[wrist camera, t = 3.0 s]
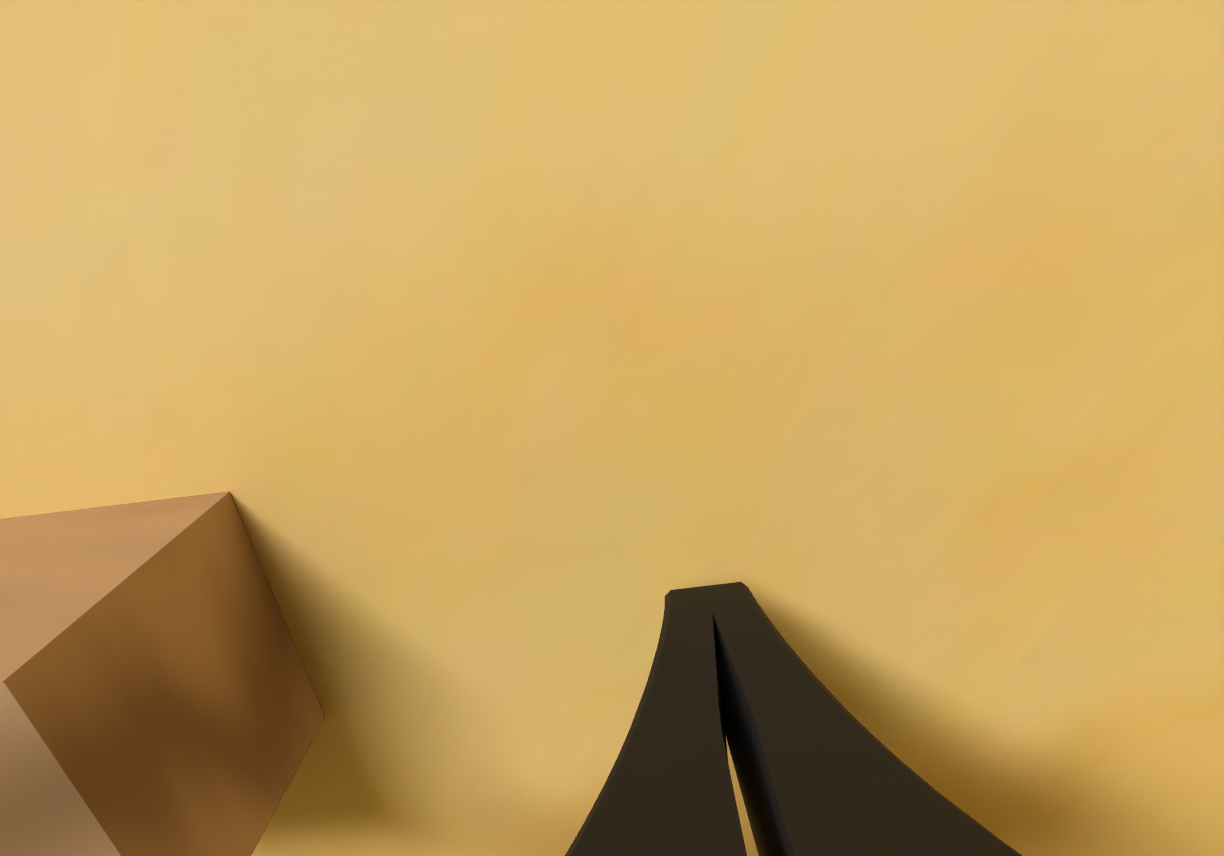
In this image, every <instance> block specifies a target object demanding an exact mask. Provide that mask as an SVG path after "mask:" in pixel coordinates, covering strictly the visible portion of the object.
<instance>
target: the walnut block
mask: <svg viewBox="0 0 1224 856" xmlns="http://www.w3.org/2000/svg"><path fill="white" fill-rule="evenodd" d="M324 718H325V715H324V713H323V710H322V708H321V706H320V703H319V701H318V699H317V696H316V694H315V692H314V689H313V687H312V685H311V682H310V680H309V678H308V675H307V673H306V670H305V668H304V666H303V663H302V661H301V659H300V656H299V654H298V652H297V649H296V647H295V645H294V642H293V640H292V637H291V635H290V633H289V630H288V628H287V626H286V623H285V621H284V619H283V616H282V614H281V612H280V609H279V607H278V604H277V602H276V600H275V597H274V595H273V593H272V590H271V588H270V586H269V583H268V581H267V579H266V576H265V574H264V571H263V569H262V567H261V564H260V562H259V560H258V557H257V555H256V553H255V550H254V548H253V546H252V543H251V541H250V538H249V536H248V534H247V531H246V529H245V527H244V524H243V522H242V520H241V517H240V515H239V513H238V510H237V508H236V505H235V503H234V501H233V498H232V496H231V494H230V492H222V493H214V494H205V495H197V496H189V497H180V498H172V499H164V500H155V501H147V502H139V503H130V504H122V505H114V506H106V507H97V508H89V509H81V510H72V511H64V512H56V513H47V514H39V515H31V516H22V517H14V518H6V519H0V856H251V855H252V853H253V851H254V849H255V847H256V845H257V844H258V842H259V840H260V838H261V836H262V834H263V832H264V830H265V829H266V827H267V825H268V823H269V821H270V819H271V817H272V815H273V813H274V812H275V810H276V808H277V806H278V804H279V802H280V800H281V798H282V797H283V795H284V793H285V791H286V789H287V787H288V785H289V783H290V782H291V780H292V778H293V776H294V774H295V772H296V770H297V768H298V766H299V765H300V763H301V761H302V759H303V757H304V755H305V753H306V751H307V750H308V748H309V746H310V744H311V742H312V740H313V738H314V736H315V735H316V733H317V731H318V729H319V727H320V725H321V723H322V721H323V719H324Z"/></svg>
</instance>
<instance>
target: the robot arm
mask: <svg viewBox="0 0 1224 856" xmlns="http://www.w3.org/2000/svg"><path fill="white" fill-rule="evenodd" d="M726 738H727V741H728V745H729V749H730V752H731V756H732V760H733V763H734V767H735V771H736V774H737V778H738V782H739V785H740V789H741V793H742V796H743V800H744V803H745V807H746V811H747V814H748V818H749V822H750V825H751V829H752V833H753V836H754V840H755V843H756V847H757V851H758V854H759V856H1022V855H1021V854H1019V853H1018V852H1016V851H1015V850H1014V849H1012V848H1011V847H1009V846H1008V845H1006V844H1005V843H1004V842H1002V841H1001V840H1000V839H999V838H997V837H996V836H995V835H993V834H992V833H991V832H989V831H988V830H987V829H986V828H984V827H983V826H982V825H980V824H979V823H978V822H976V821H975V820H974V819H973V818H971V817H970V816H969V815H967V814H966V813H965V812H963V811H962V810H961V809H959V808H958V807H957V806H956V805H954V804H953V803H952V802H950V801H949V800H948V799H946V798H945V797H944V796H943V795H941V794H940V793H939V792H937V791H936V790H935V789H934V788H932V787H931V786H930V785H929V784H928V783H926V782H925V781H924V780H923V779H922V778H921V777H919V776H918V775H917V774H916V773H915V772H914V771H912V770H911V769H910V768H909V767H908V766H907V765H905V764H904V763H903V762H902V761H901V760H899V759H898V758H897V757H896V756H895V755H894V754H893V753H892V752H891V751H890V750H888V749H887V748H886V747H885V746H884V745H883V744H882V743H881V742H880V741H879V740H877V739H876V738H875V737H874V736H873V735H872V734H871V733H870V732H869V731H868V730H867V729H866V728H865V727H864V726H863V725H862V724H861V723H860V722H859V721H858V720H857V719H856V718H855V717H854V716H853V715H852V714H850V713H849V712H848V711H847V709H846V708H845V707H844V706H843V705H842V704H841V703H840V702H839V701H838V700H837V699H836V698H835V697H834V696H833V695H832V694H831V693H830V692H829V691H828V690H827V689H826V687H825V686H824V685H823V684H822V683H821V682H820V681H819V680H818V679H817V678H816V676H815V675H814V674H813V673H812V672H811V671H810V670H809V668H808V667H807V666H806V665H805V664H804V663H803V661H802V660H801V659H800V658H799V657H798V655H797V654H796V653H795V652H794V651H793V650H792V648H791V647H790V646H789V645H788V643H787V642H786V641H785V640H784V638H783V637H782V636H781V635H780V633H779V632H778V631H777V629H776V628H775V627H774V625H773V624H772V623H771V621H770V620H769V619H768V617H767V616H766V614H765V613H764V612H763V610H762V609H761V607H760V606H759V604H758V603H757V601H756V600H755V598H754V597H753V595H752V593H751V592H750V590H749V588H748V587H747V586H746V585H744V584H743V583H742V582H737V583H728V584H719V585H711V586H702V587H693V588H685V589H676V590H670V591H669V593H668V594H667V595H666V596H665V609H664V618H663V624H662V629H661V633H660V638H659V642H658V647H657V650H656V654H655V657H654V661H653V664H652V667H651V671H650V674H649V678H648V681H647V684H646V687H645V690H644V693H643V695H642V698H641V701H640V703H639V706H638V709H637V711H636V714H635V717H634V720H633V722H632V725H631V727H630V730H629V732H628V735H627V737H626V739H625V742H624V744H623V746H622V749H621V751H620V753H619V755H618V758H617V760H616V762H615V764H614V766H613V768H612V770H611V772H610V774H609V776H608V779H607V781H606V783H605V785H604V787H603V789H602V790H601V792H600V794H599V796H598V798H597V800H596V802H595V803H594V805H593V807H592V809H591V811H590V813H589V815H588V817H587V818H586V820H585V822H584V824H583V826H582V828H581V829H580V831H579V833H578V834H577V836H576V838H575V840H574V841H573V843H572V845H571V846H570V848H569V850H568V851H567V853H566V854H565V856H747V854H746V849H745V844H744V839H743V835H742V830H741V825H740V820H739V815H738V810H737V805H736V800H735V795H734V790H733V785H732V780H731V775H730V770H729V765H728V757H727V745H726Z"/></svg>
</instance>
